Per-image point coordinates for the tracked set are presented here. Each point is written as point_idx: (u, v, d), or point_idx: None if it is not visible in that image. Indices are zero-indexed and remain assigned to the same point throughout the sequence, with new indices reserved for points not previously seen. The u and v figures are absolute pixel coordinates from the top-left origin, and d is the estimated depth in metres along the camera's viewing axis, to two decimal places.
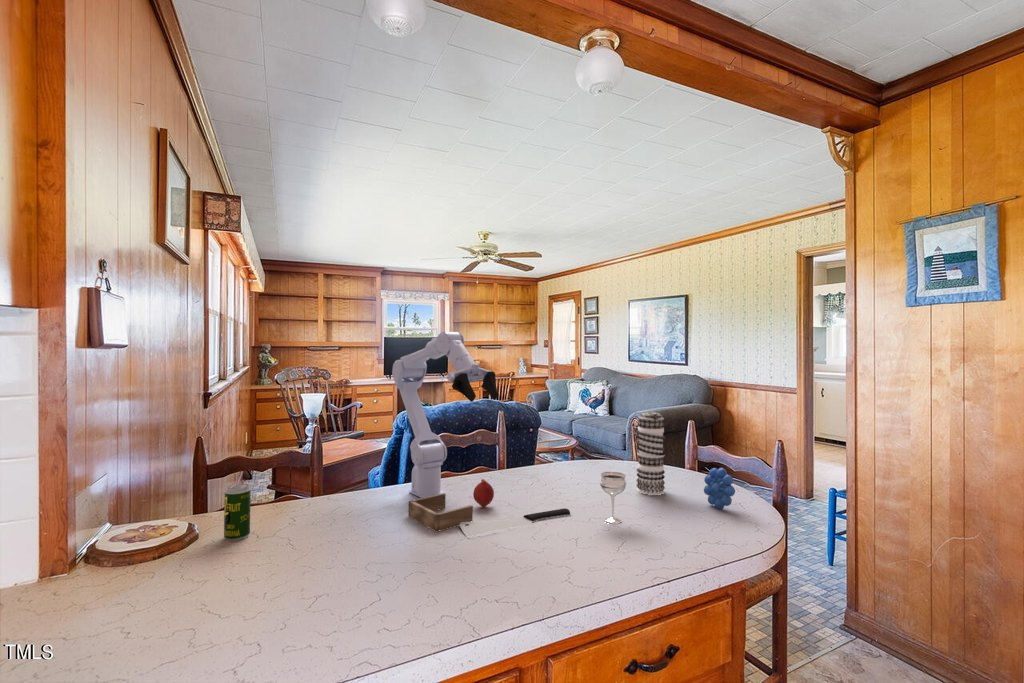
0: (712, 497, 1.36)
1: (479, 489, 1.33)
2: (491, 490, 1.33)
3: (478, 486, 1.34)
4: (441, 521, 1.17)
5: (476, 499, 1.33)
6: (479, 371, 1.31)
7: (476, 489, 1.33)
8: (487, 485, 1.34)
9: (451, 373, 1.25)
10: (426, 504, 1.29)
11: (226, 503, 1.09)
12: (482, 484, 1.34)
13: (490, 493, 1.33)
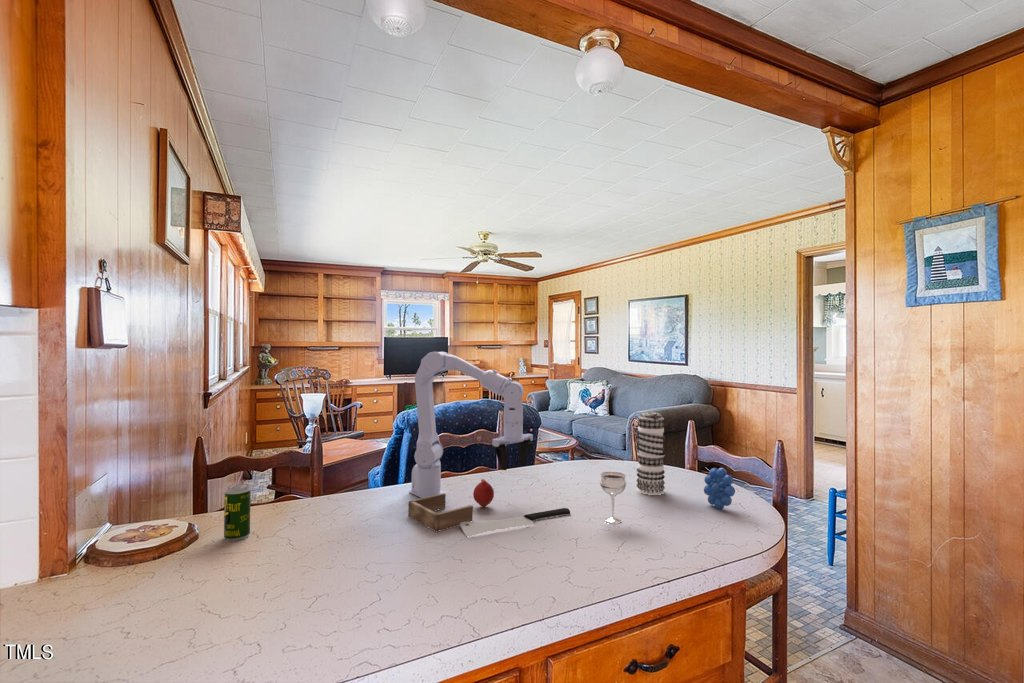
0: (712, 497, 1.36)
1: (479, 489, 1.33)
2: (491, 490, 1.33)
3: (478, 486, 1.34)
4: (441, 521, 1.17)
5: (476, 499, 1.33)
6: None
7: (476, 489, 1.33)
8: (487, 485, 1.34)
9: (497, 441, 1.37)
10: (426, 504, 1.29)
11: (226, 503, 1.09)
12: (482, 484, 1.34)
13: (490, 493, 1.33)
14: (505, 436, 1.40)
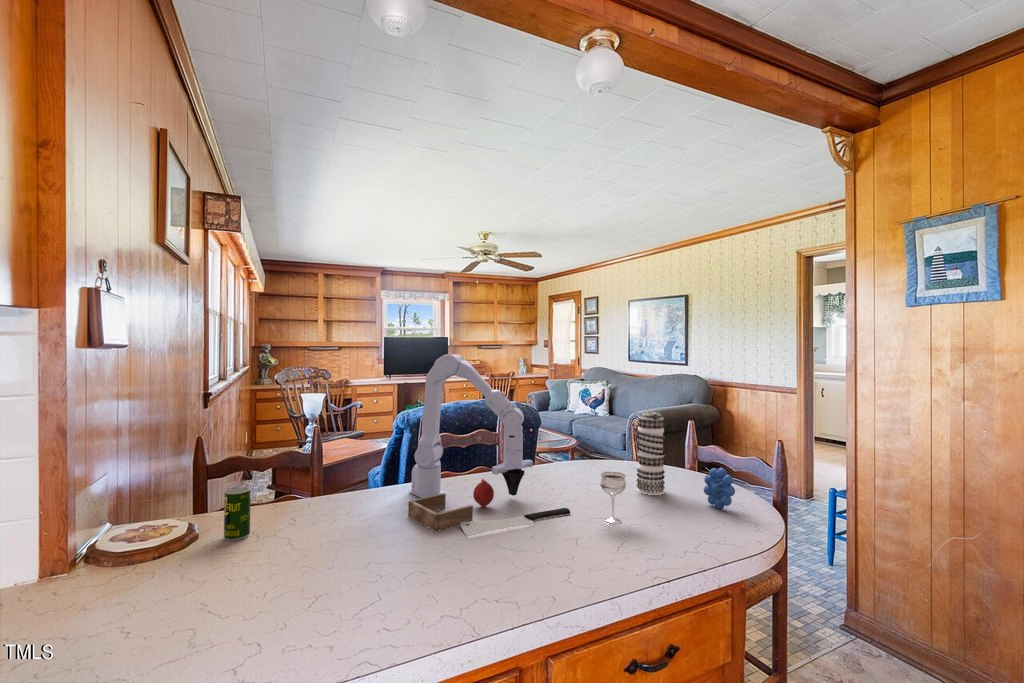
0: (712, 497, 1.36)
1: (479, 489, 1.33)
2: (491, 490, 1.33)
3: (478, 486, 1.34)
4: (441, 521, 1.17)
5: (476, 499, 1.33)
6: None
7: (476, 489, 1.33)
8: (487, 485, 1.34)
9: (497, 469, 1.37)
10: (426, 504, 1.29)
11: (226, 503, 1.09)
12: (482, 484, 1.34)
13: (490, 493, 1.33)
14: (505, 463, 1.40)
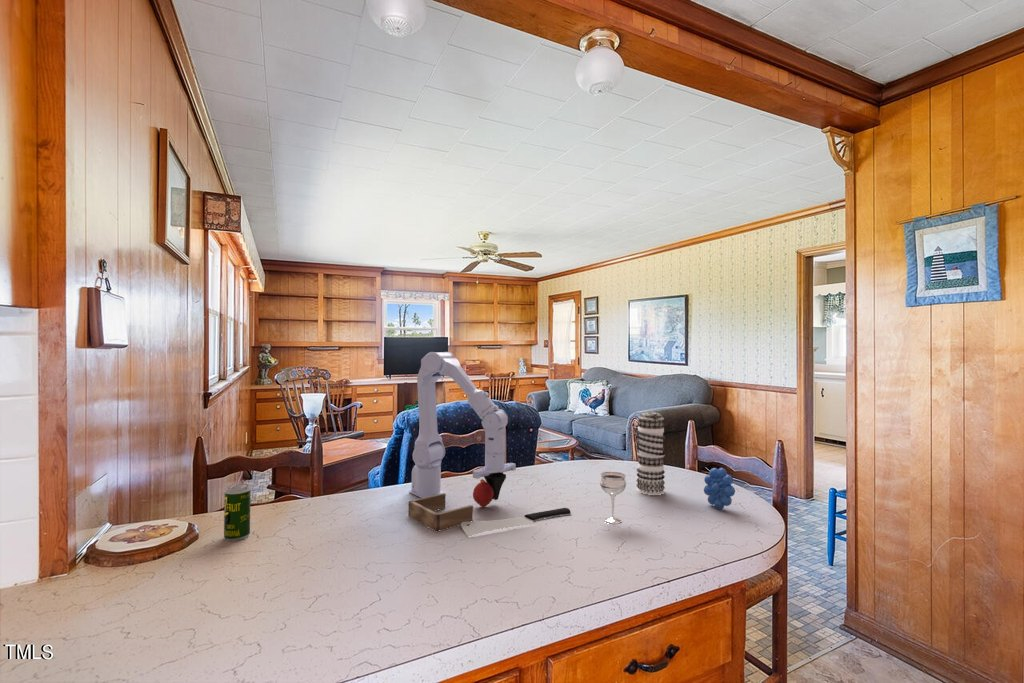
0: (712, 497, 1.36)
1: (479, 489, 1.32)
2: (490, 490, 1.33)
3: (477, 486, 1.33)
4: (441, 521, 1.17)
5: (476, 499, 1.33)
6: None
7: (476, 489, 1.33)
8: (486, 485, 1.33)
9: (478, 473, 1.32)
10: (426, 504, 1.29)
11: (226, 503, 1.09)
12: (481, 484, 1.33)
13: (490, 493, 1.33)
14: (486, 467, 1.36)
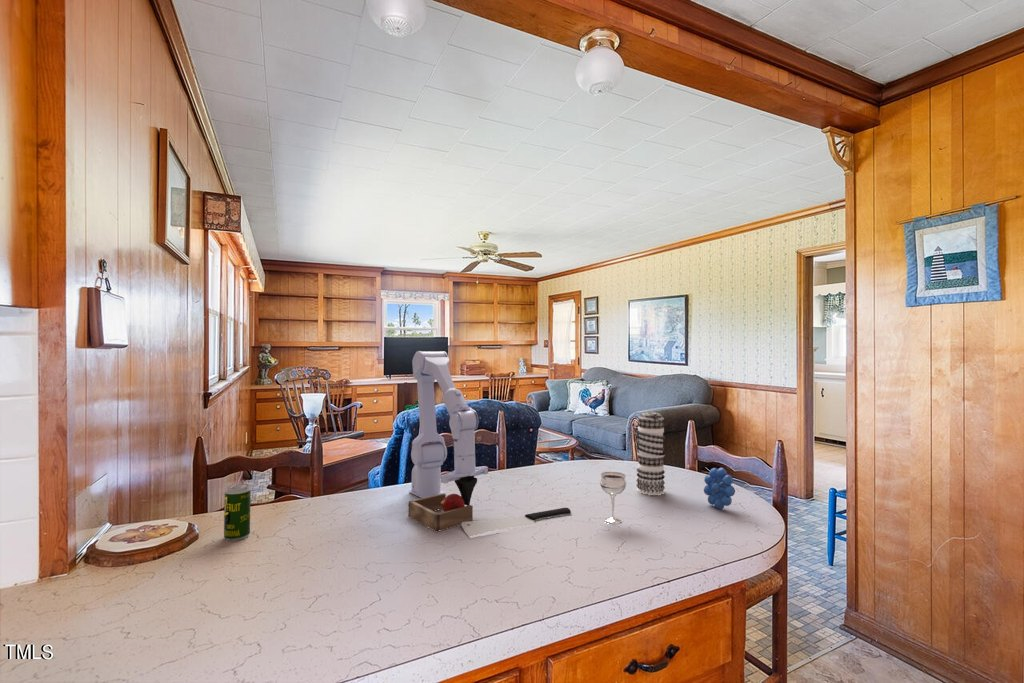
0: (712, 497, 1.36)
1: None
2: (456, 503, 1.25)
3: (443, 509, 1.25)
4: (441, 521, 1.17)
5: None
6: None
7: None
8: (449, 504, 1.24)
9: (446, 478, 1.24)
10: (426, 504, 1.29)
11: (226, 503, 1.09)
12: (444, 506, 1.24)
13: (458, 506, 1.25)
14: (455, 471, 1.28)
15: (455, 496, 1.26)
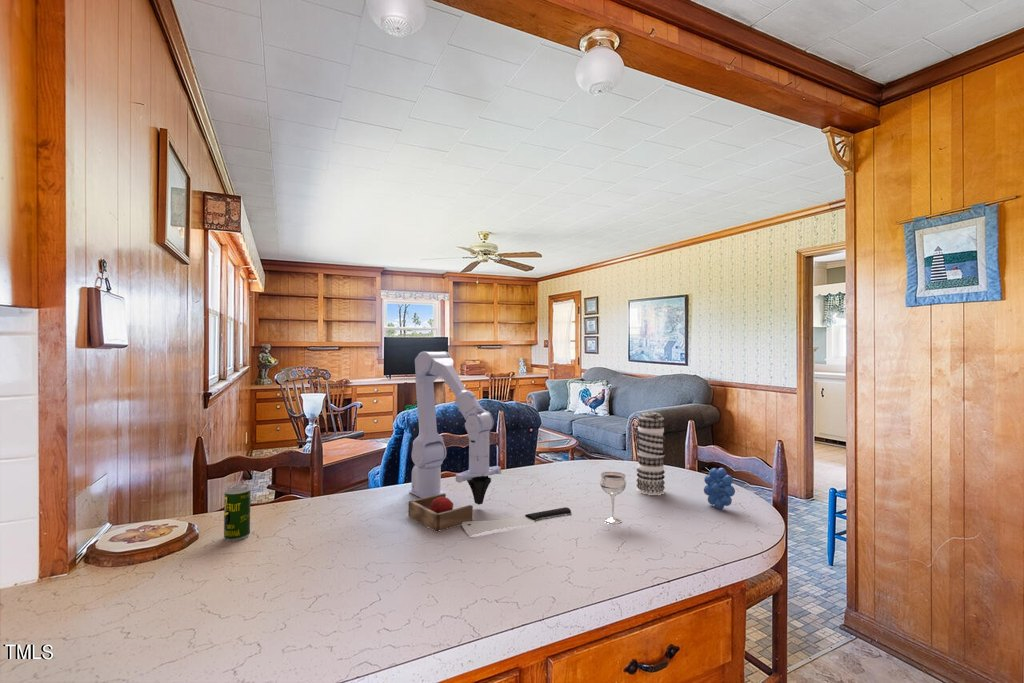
0: (712, 497, 1.36)
1: None
2: (441, 509, 1.22)
3: None
4: (441, 521, 1.17)
5: None
6: None
7: None
8: None
9: (461, 477, 1.28)
10: (426, 504, 1.29)
11: (226, 503, 1.09)
12: None
13: (444, 510, 1.22)
14: (470, 470, 1.32)
15: (438, 502, 1.23)
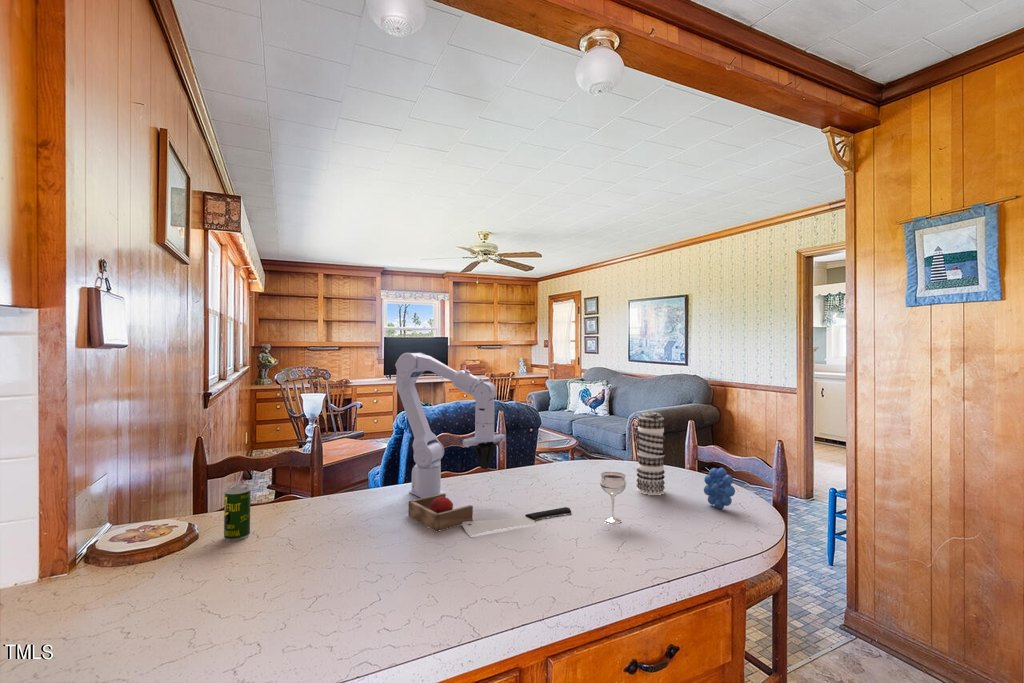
0: (712, 497, 1.36)
1: None
2: (441, 509, 1.22)
3: None
4: (441, 521, 1.17)
5: None
6: None
7: None
8: None
9: (468, 442, 1.36)
10: (426, 504, 1.29)
11: (226, 503, 1.09)
12: None
13: (444, 510, 1.22)
14: (476, 437, 1.40)
15: (438, 502, 1.23)
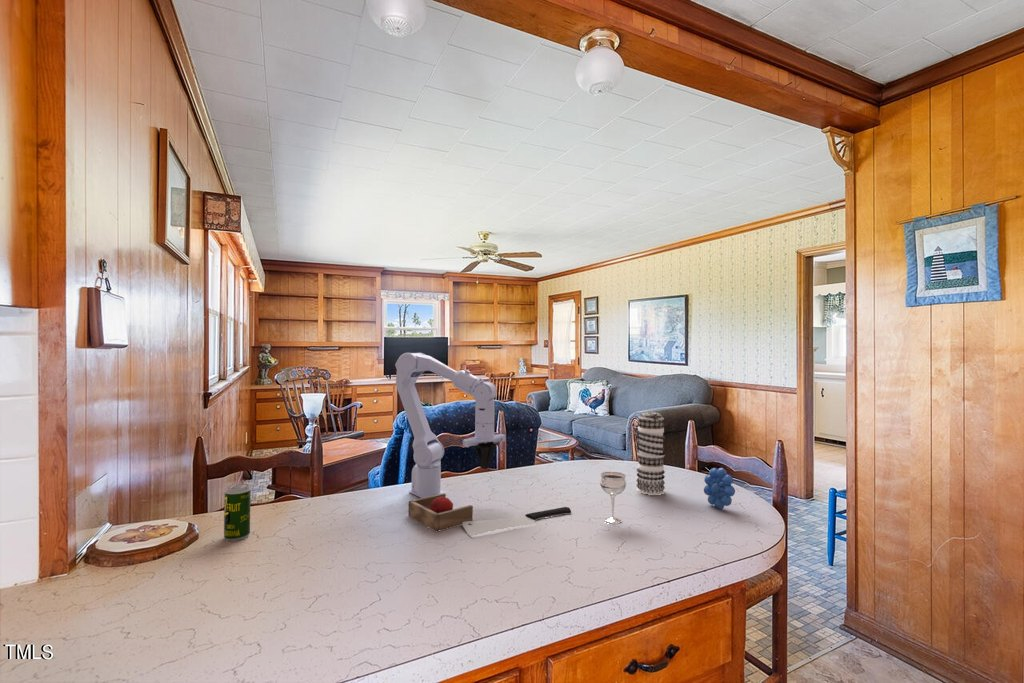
0: (712, 497, 1.36)
1: None
2: (441, 509, 1.22)
3: None
4: (441, 521, 1.17)
5: None
6: None
7: None
8: None
9: (468, 442, 1.36)
10: (426, 504, 1.29)
11: (226, 503, 1.09)
12: None
13: (444, 510, 1.22)
14: (476, 437, 1.40)
15: (438, 502, 1.23)
